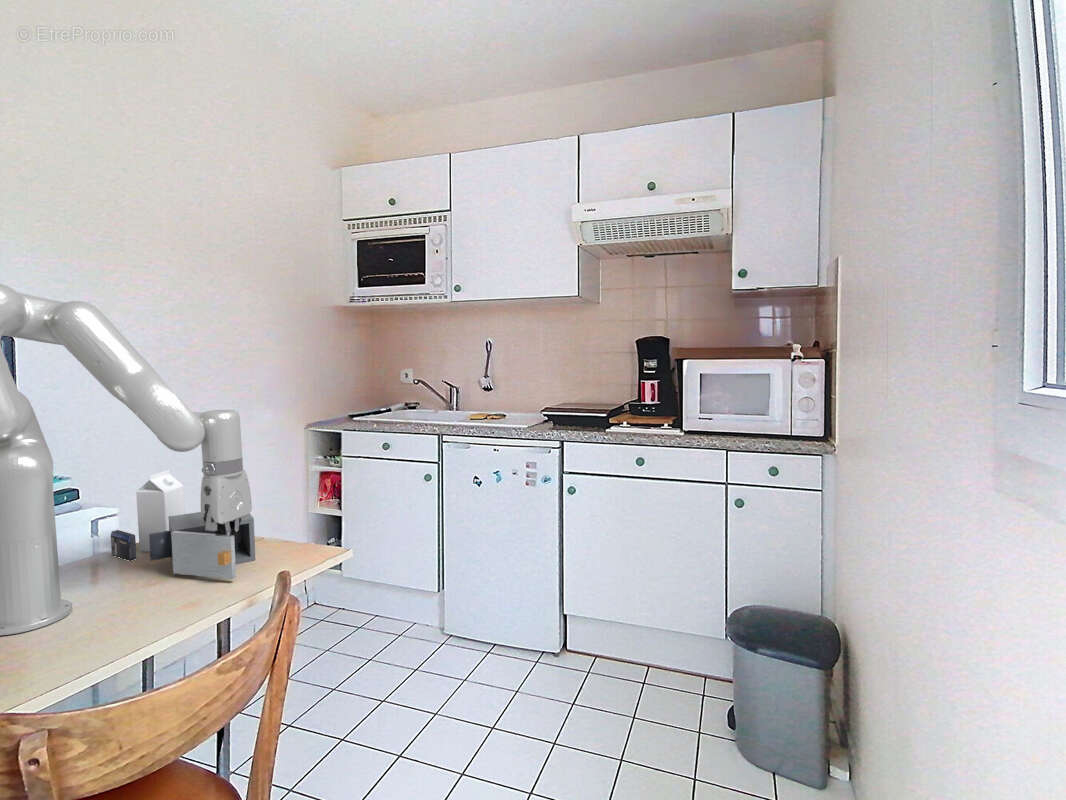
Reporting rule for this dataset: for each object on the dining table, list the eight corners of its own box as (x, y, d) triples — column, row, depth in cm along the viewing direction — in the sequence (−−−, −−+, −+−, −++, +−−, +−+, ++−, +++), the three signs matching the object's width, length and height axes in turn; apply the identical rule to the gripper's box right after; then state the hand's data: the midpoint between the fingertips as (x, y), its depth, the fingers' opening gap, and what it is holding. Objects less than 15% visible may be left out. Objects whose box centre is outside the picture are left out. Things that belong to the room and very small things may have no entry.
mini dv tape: (111, 555, 136) (110, 531, 135) (118, 554, 137) (117, 529, 136) (129, 561, 131) (128, 536, 131) (136, 559, 133) (135, 534, 132)
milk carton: (139, 552, 138) (135, 475, 136) (159, 542, 145) (155, 469, 144) (167, 552, 138) (163, 475, 136) (186, 543, 145) (182, 469, 143)
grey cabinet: (152, 580, 120) (149, 534, 119) (150, 561, 131) (148, 519, 131) (255, 560, 132) (253, 518, 131) (245, 544, 143) (243, 505, 142)
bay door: (168, 575, 120) (166, 533, 119) (177, 571, 122) (175, 530, 122) (228, 581, 117) (226, 538, 116) (236, 577, 119) (234, 535, 118)
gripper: (211, 475, 113) (217, 564, 114) (262, 461, 127) (267, 540, 129) (179, 474, 114) (186, 562, 116) (233, 460, 129) (238, 538, 130)
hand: (228, 550), depth 122 cm, fingers closed
